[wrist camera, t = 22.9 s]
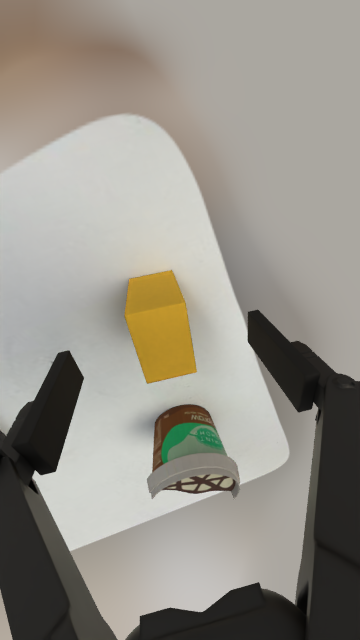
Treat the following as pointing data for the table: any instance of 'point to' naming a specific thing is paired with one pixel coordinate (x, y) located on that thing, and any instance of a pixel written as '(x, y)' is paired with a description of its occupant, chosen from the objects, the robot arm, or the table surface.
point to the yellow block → (159, 326)
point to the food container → (190, 454)
